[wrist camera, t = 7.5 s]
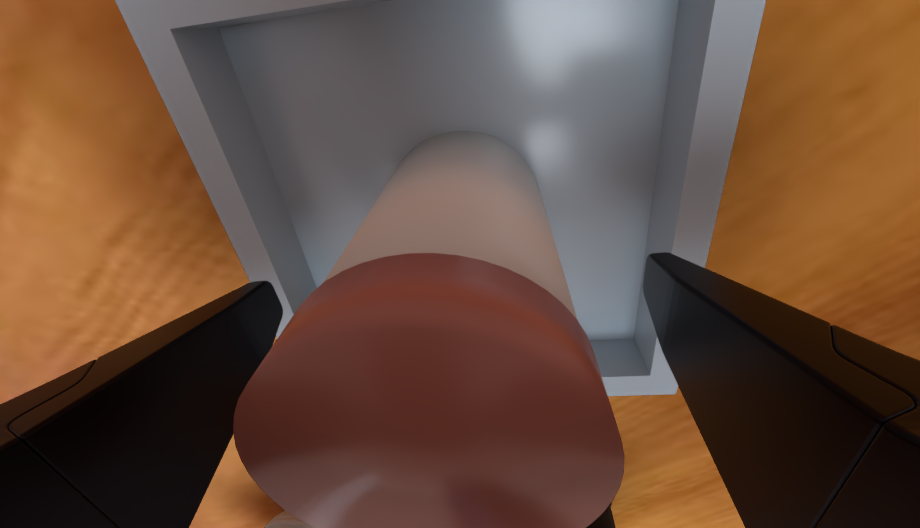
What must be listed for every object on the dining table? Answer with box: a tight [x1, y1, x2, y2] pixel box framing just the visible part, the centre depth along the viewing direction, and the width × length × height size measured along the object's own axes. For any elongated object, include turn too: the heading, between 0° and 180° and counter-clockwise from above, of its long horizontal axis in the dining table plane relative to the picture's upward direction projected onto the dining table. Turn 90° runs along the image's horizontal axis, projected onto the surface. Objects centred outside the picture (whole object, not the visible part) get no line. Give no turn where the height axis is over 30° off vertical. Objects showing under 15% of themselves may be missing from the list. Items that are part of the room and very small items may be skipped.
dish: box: [115, 0, 766, 396], centre depth 13 cm, size 14×14×2 cm
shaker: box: [233, 131, 624, 528], centre depth 9 cm, size 5×5×9 cm
